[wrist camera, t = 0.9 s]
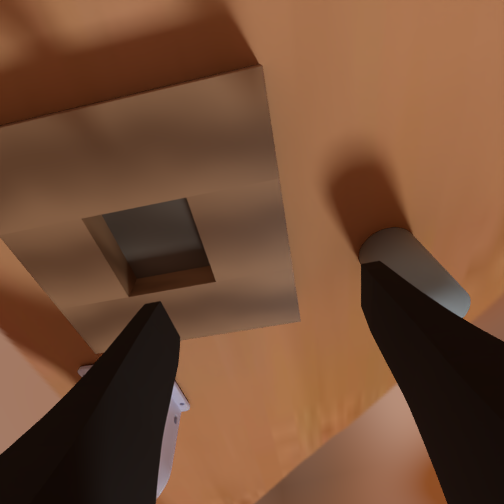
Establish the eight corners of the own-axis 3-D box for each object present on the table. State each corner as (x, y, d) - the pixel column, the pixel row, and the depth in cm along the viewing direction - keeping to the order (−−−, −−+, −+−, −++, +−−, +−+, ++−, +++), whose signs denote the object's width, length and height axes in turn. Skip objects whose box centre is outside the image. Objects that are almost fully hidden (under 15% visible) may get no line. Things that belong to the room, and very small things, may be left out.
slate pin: (411, 268, 22) (461, 330, 17) (358, 277, 22) (392, 341, 17) (418, 222, 20) (478, 279, 15) (359, 233, 20) (397, 292, 15)
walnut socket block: (295, 297, 23) (300, 321, 21) (107, 328, 24) (95, 354, 22) (259, 63, 14) (262, 65, 12) (-34, 133, 16) (-76, 145, 13)
